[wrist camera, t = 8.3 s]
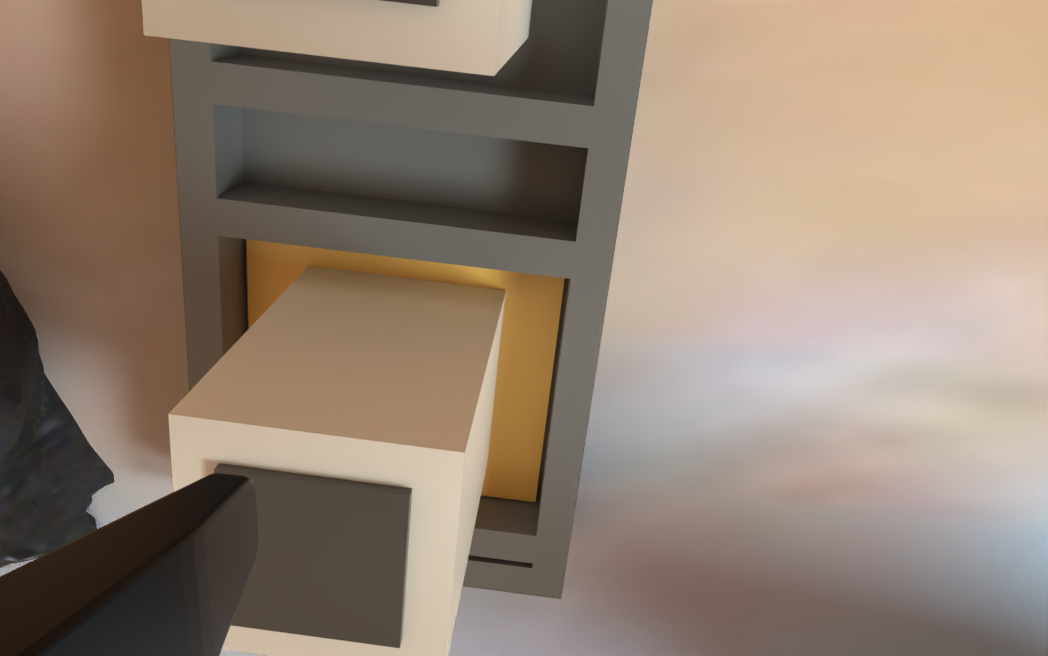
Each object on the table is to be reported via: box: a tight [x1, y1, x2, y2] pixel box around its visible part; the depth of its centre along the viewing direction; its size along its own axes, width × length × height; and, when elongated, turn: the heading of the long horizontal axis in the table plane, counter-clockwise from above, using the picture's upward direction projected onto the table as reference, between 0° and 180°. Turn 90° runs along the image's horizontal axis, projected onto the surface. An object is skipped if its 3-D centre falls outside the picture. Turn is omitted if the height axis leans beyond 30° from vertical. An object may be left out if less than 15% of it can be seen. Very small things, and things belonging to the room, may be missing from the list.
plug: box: [168, 266, 506, 656], centre depth 17 cm, size 4×4×7 cm
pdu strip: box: [141, 0, 653, 599], centre depth 15 cm, size 20×9×8 cm, turn 174°
